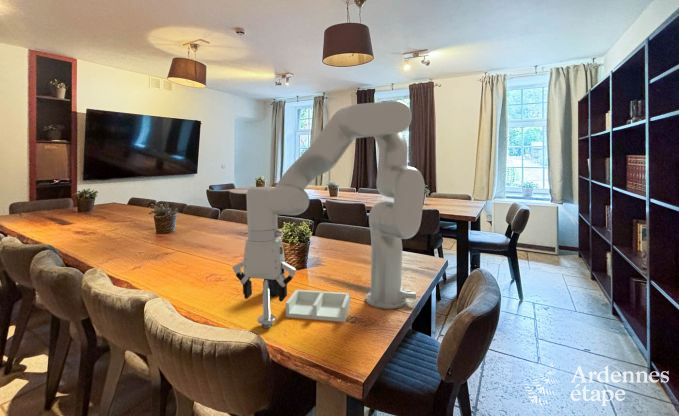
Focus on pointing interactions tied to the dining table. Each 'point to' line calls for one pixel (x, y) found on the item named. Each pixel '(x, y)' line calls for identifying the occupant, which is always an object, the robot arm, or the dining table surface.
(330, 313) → the rack
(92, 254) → the dining table surface
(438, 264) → the dining table surface
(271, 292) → the supplement bottle
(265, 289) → the screw
